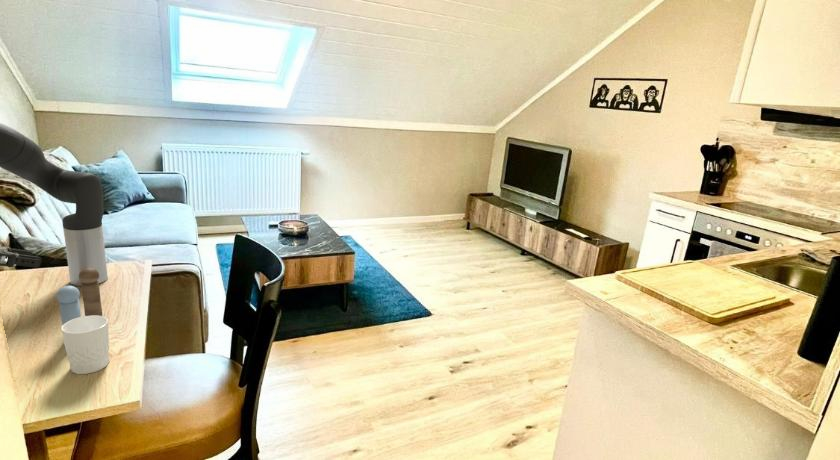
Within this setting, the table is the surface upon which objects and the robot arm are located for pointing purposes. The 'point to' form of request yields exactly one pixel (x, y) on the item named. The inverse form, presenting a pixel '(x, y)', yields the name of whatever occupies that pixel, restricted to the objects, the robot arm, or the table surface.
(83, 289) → the walnut pin
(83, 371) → the white cup
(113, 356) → the table surface
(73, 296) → the blue pin
